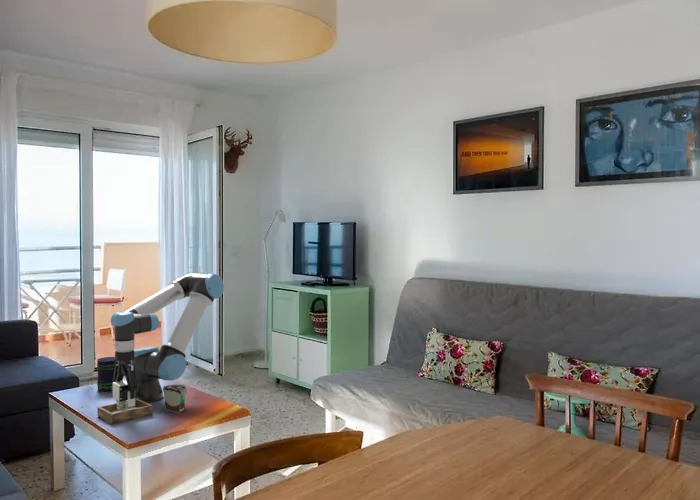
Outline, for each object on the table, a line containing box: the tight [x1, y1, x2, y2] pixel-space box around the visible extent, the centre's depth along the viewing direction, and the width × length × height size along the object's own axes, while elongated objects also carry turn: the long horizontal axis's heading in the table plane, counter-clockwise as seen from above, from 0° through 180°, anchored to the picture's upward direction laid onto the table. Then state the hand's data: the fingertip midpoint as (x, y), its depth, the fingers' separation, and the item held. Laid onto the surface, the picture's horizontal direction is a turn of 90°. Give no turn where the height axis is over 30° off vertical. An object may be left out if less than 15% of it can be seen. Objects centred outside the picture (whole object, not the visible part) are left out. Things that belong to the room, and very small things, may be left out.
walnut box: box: [96, 399, 154, 425], centre depth 234 cm, size 17×14×4 cm
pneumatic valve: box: [111, 379, 129, 411], centre depth 234 cm, size 6×12×12 cm, turn 41°
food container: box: [162, 384, 188, 414], centre depth 243 cm, size 12×6×10 cm, turn 56°
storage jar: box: [96, 356, 116, 393], centre depth 273 cm, size 10×10×15 cm
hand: (125, 403), depth 234 cm, fingers closed on pneumatic valve, 11 cm apart
